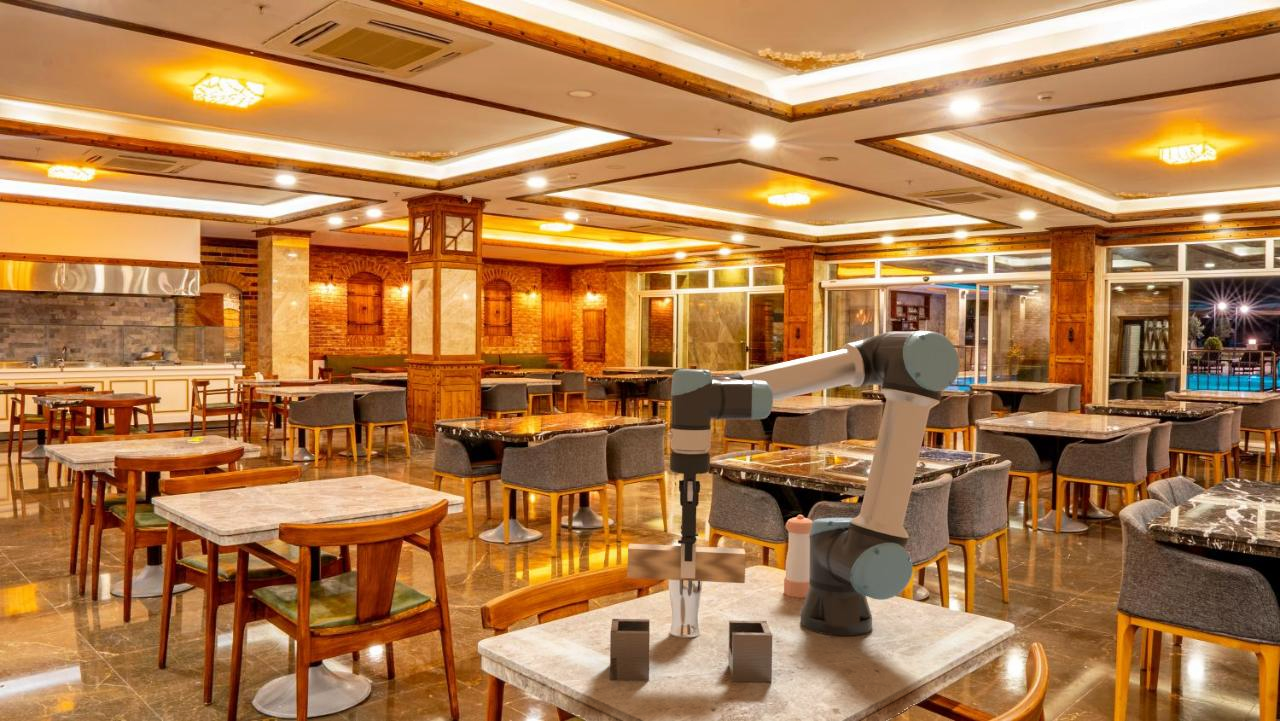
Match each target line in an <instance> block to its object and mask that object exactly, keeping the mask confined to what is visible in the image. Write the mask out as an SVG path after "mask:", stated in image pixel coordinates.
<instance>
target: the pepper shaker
mask: <svg viewBox="0 0 1280 721" xmlns="http://www.w3.org/2000/svg"><path fill="white" fill-rule="evenodd" d="M813 521H814V520H812V519H810V518H808V517H807V518H806V517H805V516H804V515H803V514H798V515H797V516H796V517H792V518H789V519H788V520H787V522H785V525H784V526H785V529H786V531H788V548H787V556H786V561H785V576H784V579H783V594H784V595H786V596H788V597H792V598H798V599H799V598H801V599H805V598H806V595H807V592H808V589H809V579H810V577H809V572H810V538H809V534H810V528H811V523H812V522H813Z"/></svg>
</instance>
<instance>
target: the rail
mask: <svg viewBox="0 0 1280 721" xmlns="http://www.w3.org/2000/svg"><path fill="white" fill-rule="evenodd" d="M746 554H747V553H746V550H745V548H731V547H714V546H712V547H711V546H696V559H695V578H681V545H672V544H671V545H670V544H667V545H666V544H650V543H649V544H647V543H645V544H644V543H629V544H628V548H627V566H626V567H627V568H626V570H627V572H626V578H627V579H645V580H646V579H650V580H665V581H666V580H667V581H669V580H686V581H702V582H707V583H709V582H711V583H728V584H729V583H732V584H733V583H735V584H745V583H746V561H747V560H746V558H747V556H746Z"/></svg>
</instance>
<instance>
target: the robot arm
mask: <svg viewBox="0 0 1280 721" xmlns="http://www.w3.org/2000/svg"><path fill="white" fill-rule="evenodd" d="M959 372H960V356H959V353H958V350H957V349H956V348H955V346H954V344H953V342H952V341H951V340H950V339H949V338H948V337H946V336H945V335H944V334H942V333H940V332H936V331H927V330H923V329H922V330H916V331H915V330H910V331H901V330H900V331H899V330H898V331H897V330H896V331H895V330H894V331H888V332H884V333H880V334H876V335H874V336H870V337H867V338H866V337H865V338H863V339H861V340H857V341H853V342H849V343H845V344H843V345H842V347H841V349H838V350H835V351H829V352H825V353H820V354H815V355H810V356H806V357H801V358H796V359H791V360H789V361H784V362H779V363H774V364H770V365H765V366H761V367H756V368H752V369H747V370H741V371H737V372H734V373H729V374H724V375H719V376H716V375H712V372H711V371H710V370H709V369H699V368H698V369H696V368H695V369H693V368H688V369H687V368H685V369H684V368H683V369H682V368H680V369H677V370H675V371H674V372H673V373H672V378H671V390H670V391H671V392H670V396H671V397H670V398H671V399H670V412H671V414H670V421H671V422H670V428H671V429H670V431H671V432H668V433H667V438H668V439H670V448H671V450H672V451H670V454H669V470H670V471H671V472H672V473H674V474H683V479H681V480H678V491H679V502H680V503H679V505H680V506H681V525H680V529H681V530H680V534H681V536H680V539H678V540H677V543H678V545H679V544H680V546H681V578H695V559H696V547H697V546H696V545H697V543H696V542H697V537H699V532H698V531H697V508H698V506H699V503H700V502H699V494H700V492H701V482H700V480H697V475H698V474H699V475H703V474H707V473H709V471H710V470H711V469H710V468H711V465H710V464H711V454H710V452H708V451H709V450H710V449H711V446H712V445H711V444H712V443H711V437H712V436H711V435H712V432H711V431H712V429H711V428H712V425H711V424H712V420H751V421H753V420H764V419H767V418H768V416H770V414H771V412H772V409H773V404H774V403H773V402H776V401H779V400H780V401H781V400H784V399H788V398H793V397H798V396H802V395H805V394H810V393H815V392H819V391H824V390H830V389H833V388H838V387H841V386H846V385H849V386H851V387H853V388H857V387H858V388H859V387H863V386H869V385H870V386H871V385H873V386H874V385H879V386H881V389H880V390H881V392H882V394H883V396H884V397H885V400H886V401H885V404H884V409H883V414H882V420H881V422H880V425H879V431H878V436H877V440H876V444H875V447H874V453H873V457H872V461H871V465H870V470H869V474H868V478H867V482H866V486H865V489H864V490H865V492H864V494H863V500H862V504H861V508H860V512H859V514H858V515H857V516H855V517H826V518H825V517H824V518H817V519H814V520H812V521H813V522H812V523H811V528H810V534H809V538H810V572H809V577H810V579H809V589H808V592H807V595H806V598H804V601H803V603H802V604H803V605H802V607H801V610H800V624H801V625H802V626H803V627H804V628H806V629H808V630H810V631H813V632H817V633H820V634H823V635H832V636H858V635H863V634H866V633H869V632H870V631H871V630H873V616H872V611H871V609H870V606H869V602H868V600H867V597H869V598H871V599H873V600H878V601H880V600H881V601H883V600H890V599H891V598H894V597H895V596H897V595H898V594H901V593H902V592H903V591H904V590H905V589H906V588H907V586H908V585H909V584H910V581H911V579H912V576H913V572H914V571H913V570H914V567H913V566H914V565H913V559H912V558H911V556H910V555H911V554H910V553H909V552H908V551H907V545H908V540H909V534H908V532H907V531H906V529H905V527H904V524H905V523H904V522H905V518H906V515H907V509H908V505H909V500H910V496H911V492H912V488H913V484H914V480H915V474H916V470H917V467H918V466H917V465H918V462H919V458H920V454H921V450H922V445H923V444H922V443H923V442H924V441H923V440H924V436H925V432H926V427H927V423H928V418H929V414H930V411H931V409H932V408H934V407H935V406H937V405H939V404H940V401H941V398H942V394H943V391H944V390H945V389H947V388H949V387H950V386H951V385H953V384H954V382H955V381H956V379H957V378H958V376H959Z"/></svg>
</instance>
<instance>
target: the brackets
mask: <svg viewBox="0 0 1280 721" xmlns="http://www.w3.org/2000/svg"><path fill="white" fill-rule="evenodd" d="M650 634H651V633H650V619H647V618H645V619H643V618H641V619H639V618H638V619H637V618H611V627H610V635H609V637H610V644H609V645H610V649H609V650H610V652H609V654H610V655H609V660H610V661H609V680H610V681H650ZM728 668H729V674H730V677H731V681H732V682H733V683H739V682H740V683H772V682H773V681H772V680H773V679H772V677H773V676H772V674H773V670H772V669H773V634H772V631H771V629H770V626H769V624H768V621H767V620H728Z"/></svg>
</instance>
